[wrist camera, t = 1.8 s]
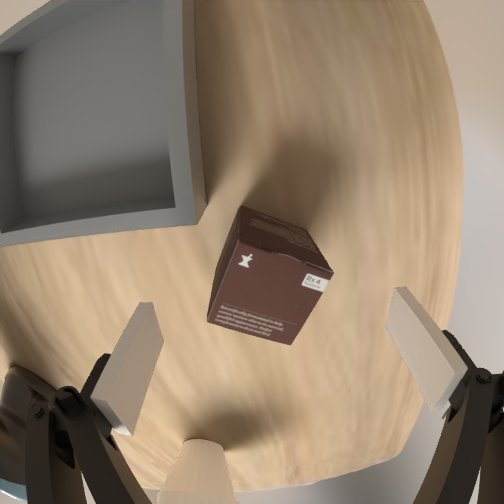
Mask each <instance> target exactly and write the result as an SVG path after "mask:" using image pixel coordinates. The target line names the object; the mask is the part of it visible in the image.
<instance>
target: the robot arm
mask: <svg viewBox="0 0 504 504" xmlns="http://www.w3.org/2000/svg"><path fill="white" fill-rule="evenodd" d="M385 327H386V329H387V331H388V333H389V334H390V336H391V338H392V340H393V341H394V343H395V345H396V347H397V348H398V350H399V352H400V354H401V356H402V358H403V359H404V361H405V363H406V365H407V367H408V369H409V371H410V372H411V374H412V376H413V378H414V380H415V382H416V384H417V386H418V388H419V390H420V392H421V394H422V396H423V398H424V400H425V402H426V404H427V406H428V408H429V410H430V412H433V411H436V410H438V409H441V408H443V407H444V405H445V404H446V403H447V401H448V400H449V402H450V404H451V405H450V407H449V408H448V409H447V411H446V412H445V414H444V415H443V417H442V419H444V417H445V416H446V415H447V416H446V420H445V423H444V427H443V430H442V433H441V436H440V439H439V442H438V445H437V448H436V451H435V454H434V456H433V459H432V462H431V464H430V467H429V469H428V472H427V474H426V476H425V479H424V481H423V483H422V485H421V488H420V490H419V492H418V494H417V496H416V499H415V500H414V502H413V504H469V501H470V498H471V496H472V493H473V490H474V487H475V484H476V480H477V477H478V474H479V470H480V466H481V471H480V484H479V494H478V501H477V504H504V412H503V407H504V371H503V373H502V374H491V373H490V372H489V371H488V370H487V369H484V368H477V367H476V366H475V364H474V363H473V361H472V360H471V358H470V357H469V356H468V354H467V353H466V352H465V350H464V349H462V346H461V345H460V344H459V343H458V341H457V339H456V338H455V337H454V335H452V334H451V333H449V332H448V331H447V330H443V331H441V330H440V328H439V327H438V326H437V324H436V323H435V322H434V321H433V319H432V318H431V317H430V315H429V314H428V313H427V312H426V310H425V309H424V308H423V307H422V305H421V304H420V303H419V302H418V301H417V299H416V298H415V297H414V296H413V294H412V293H411V292H410V291H409V290H408V289H407V287H406V286H405V287H396V288H394V292H393V297H392V301H391V305H390V309H389V313H388V317H387V321H386V325H385ZM163 343H164V339H163V336H162V333H161V330H160V327H159V323H158V320H157V317H156V313H155V310H154V307H153V303H152V302H140V303H139V305H138V306H137V308H136V310H135V312H134V313H133V315H132V317H131V319H130V320H129V322H128V324H127V326H126V328H125V330H124V331H123V333H122V335H121V337H120V339H119V341H118V343H117V345H116V346H115V348H114V350H113V352H112V354H106V353H104V354H103V355H102V356H101V357H100V358H99V359H98V360H97V362H96V364H95V365H94V367H93V370H92V371H91V373H90V376H89V377H88V379H87V381H86V383H85V384H84V386H83V388H82V390H81V392H80V394H79V392H78V391H77V389H76V388H74V387H72V386H65V387H62V388H60V389H58V390H57V391H55V390H54V389H53V388H52V387H51V386H49V385H48V384H47V383H46V382H44V381H43V380H42V379H40V378H39V377H37V376H36V375H34V374H33V373H31V372H30V371H28V370H26V369H24V368H21V367H18V366H13V367H11V368H10V370H9V371H8V373H7V374H6V376H5V382H4V386H3V389H2V394H1V399H0V491H2V492H3V493H5V494H7V495H9V496H11V497H13V498H15V499H18V500H21V501H27V502H28V504H87V501H86V497H85V492H84V487H83V481H82V475H81V471H82V474H83V476H84V479H85V481H86V483H87V485H88V488H89V490H90V492H91V494H92V496H93V498H94V500H95V502H96V504H152V503H151V501H150V500H149V499H148V497H147V496H146V494H145V493H144V491H143V489H142V488H141V486H140V485H139V483H138V481H137V480H136V478H135V476H134V475H133V473H132V471H131V470H130V468H129V466H128V464H127V463H126V461H125V459H124V457H123V455H122V453H121V451H120V449H119V448H118V446H117V444H116V442H115V440H114V438H113V436H112V434H111V430H112V427H113V428H114V429H115V430H116V432H117V433H119V434H124V435H129V436H133V434H134V430H135V427H136V424H137V420H138V417H139V414H140V411H141V407H142V404H143V401H144V398H145V395H146V392H147V389H148V386H149V383H150V380H151V377H152V374H153V371H154V368H155V365H156V362H157V359H158V357H159V354H160V351H161V348H162V345H163Z"/></svg>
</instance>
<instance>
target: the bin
mask: <svg viewBox="0 0 504 504" xmlns="http://www.w3.org/2000/svg"><path fill="white" fill-rule="evenodd" d="M206 207H207V201H206V191H205V181H204V171H203V160H202V148H201V136H200V123H199V109H198V94H197V76H196V54H195V23H194V0H52V1H50V2H49V3H47V4H45V5H44V6H42V7H40V8H39V9H37V10H36V11H34V12H33V13H31V14H30V15H28V16H27V17H25V18H24V19H22V20H21V21H19V22H18V23H17V24H15V25H14V26H13V27H11V28H10V29H9V30H7V31H6V32H5V33H3V34H2V35H1V36H0V247H3V246H10V245H17V244H24V243H31V242H38V241H46V240H53V239H61V238H69V237H77V236H86V235H95V234H104V233H113V232H122V231H132V230H143V229H153V228H164V227H176V226H188V225H197V224H198V222H199V220H200V218H201V217H202V215H203V213H204V211H205V209H206Z"/></svg>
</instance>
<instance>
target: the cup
mask: <svg viewBox="0 0 504 504" xmlns="http://www.w3.org/2000/svg"><path fill="white" fill-rule="evenodd" d="M157 504H239V502H238V501H237V500H236V497H235V493H234V489H233V486H232V482H231V478H230V474H229V470H228V466H227V462H226V458H225V454H224V450H223V447H222V446H221V445H220V444H218V443H215V442H213V441H209V440H203V439H191V440H187V441H185V442H184V443H183V445H182V447H181V449H180V451H179V453H178V456H177V458H176V460H175V462H174V464H173V466H172V468H171V471H170V473H169V475H168V477H167V479H166V481H165V483H164V485H163V487H162V490H161V491H159V492H158V495H157Z"/></svg>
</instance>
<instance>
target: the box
mask: <svg viewBox="0 0 504 504" xmlns="http://www.w3.org/2000/svg"><path fill="white" fill-rule="evenodd" d="M333 274H334V272H333V270H332V269H331V268H330V267H329V265H328V263H327V261H326V260H325V258H324V256H323V255H322V253H321V252H320V250H319V248H318V247H317V245H316V244H315V242H314V241H313V239H312V238H311V236H310V235H309V233H308V231H306V230H303V229H301V228H298V227H296V226H293V225H291V224H288V223H286V222H283V221H280V220H278V219H275V218H273V217H270V216H267V215H265V214H262V213H259V212H257V211H254V210H251V209H248V208H246V207H243V206H240V207H239V209H238V212H237V214H236V217H235V219H234V222H233V224H232V227H231V229H230V232H229V235H228V237H227V240H226V243H225V245H224V248H223V251H222V253H221V256H220V259H219V262H218V264H217V267H216V271H215V277H214V281H213V286H212V292H211V297H210V302H209V308H208V313H207V322H209V323H212V324H215V325H218V326H222V327H225V328H228V329H232V330H235V331H239V332H242V333H246V334H249V335H253V336H256V337H260V338H264V339H268V340H271V341H275V342H279V343H283V344H287V345H291V344H292V343H293V341H294V340H295V338H296V336H297V335H298V333H299V332H300V330H301V328H302V327H303V325H304V323H305V322H306V320H307V318H308V317H309V315H310V313H311V312H312V310H313V308H314V307H315V305H316V304H317V302H318V300H319V299H320V297H321V295H322V293H323V292H324V290H325V289H326V287H327V285H328V283H329V281H330V279H331V277H332V276H333Z"/></svg>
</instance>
